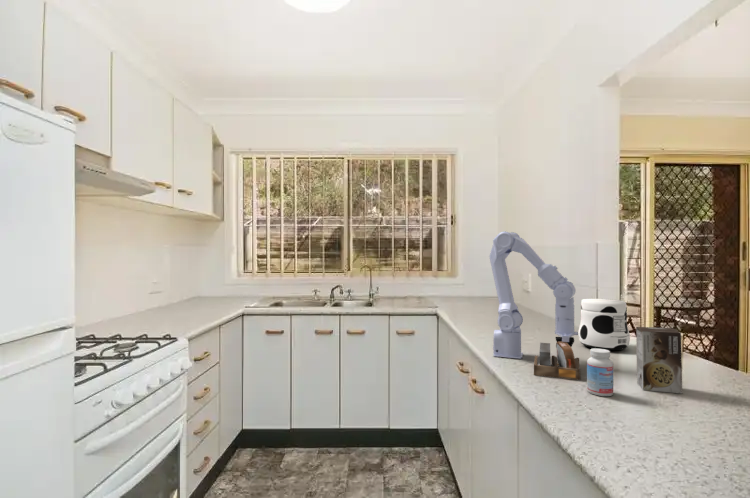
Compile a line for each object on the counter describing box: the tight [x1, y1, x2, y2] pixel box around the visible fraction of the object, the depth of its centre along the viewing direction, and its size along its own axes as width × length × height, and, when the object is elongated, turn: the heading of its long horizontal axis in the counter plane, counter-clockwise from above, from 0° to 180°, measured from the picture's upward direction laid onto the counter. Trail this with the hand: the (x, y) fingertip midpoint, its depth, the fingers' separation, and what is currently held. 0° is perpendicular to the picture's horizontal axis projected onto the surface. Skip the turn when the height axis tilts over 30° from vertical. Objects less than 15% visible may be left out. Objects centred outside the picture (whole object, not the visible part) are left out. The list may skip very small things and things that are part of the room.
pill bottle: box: [586, 348, 614, 397], centre depth 109 cm, size 6×6×11 cm
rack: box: [533, 342, 581, 381], centre depth 129 cm, size 13×16×7 cm
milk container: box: [577, 298, 631, 351], centre depth 158 cm, size 17×17×18 cm
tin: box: [555, 341, 576, 369], centre depth 128 cm, size 15×3×8 cm, turn 167°
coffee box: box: [635, 326, 683, 394], centre depth 112 cm, size 9×6×16 cm
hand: (564, 359), depth 136 cm, fingers closed
